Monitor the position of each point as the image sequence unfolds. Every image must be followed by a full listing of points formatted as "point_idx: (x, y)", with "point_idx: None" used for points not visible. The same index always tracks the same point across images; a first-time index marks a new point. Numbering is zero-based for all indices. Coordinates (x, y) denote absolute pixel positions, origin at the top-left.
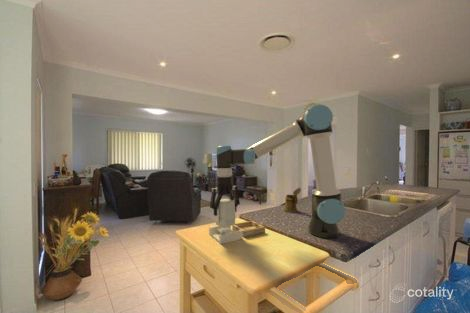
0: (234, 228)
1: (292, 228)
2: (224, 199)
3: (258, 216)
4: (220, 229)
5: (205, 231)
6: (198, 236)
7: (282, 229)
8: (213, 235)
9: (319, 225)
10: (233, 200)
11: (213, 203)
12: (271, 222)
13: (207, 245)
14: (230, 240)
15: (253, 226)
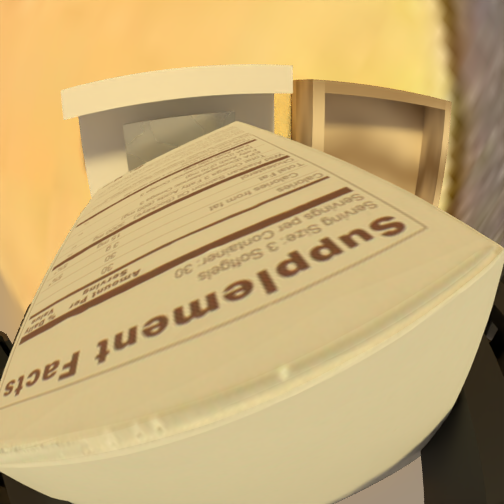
0: (301, 115)
1: (488, 229)
2: (352, 446)
3: (496, 14)
4: (154, 157)
5: (77, 18)
6: (4, 111)
7: (469, 222)
8: (90, 168)
9: (488, 333)
10: (408, 460)
11: (6, 502)
12: (495, 122)
13: (43, 276)
14: None
15: (422, 131)
